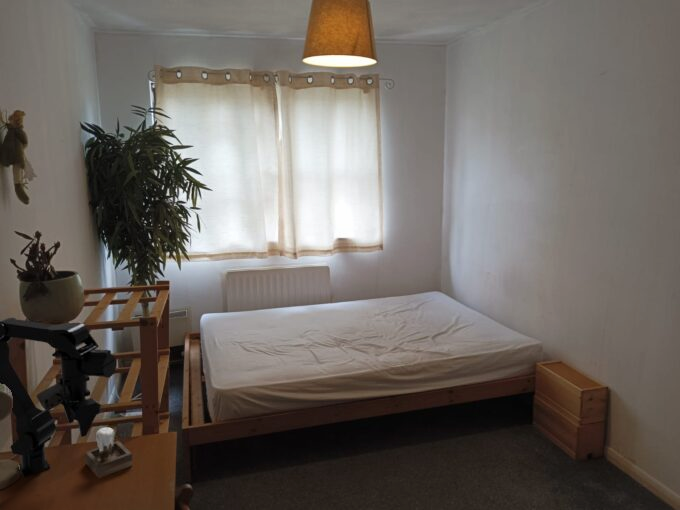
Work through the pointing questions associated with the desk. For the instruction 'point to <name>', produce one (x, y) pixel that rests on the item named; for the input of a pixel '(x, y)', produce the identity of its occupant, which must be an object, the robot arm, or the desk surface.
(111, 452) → the milkshake
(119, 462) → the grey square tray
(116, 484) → the desk surface
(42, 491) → the desk surface
